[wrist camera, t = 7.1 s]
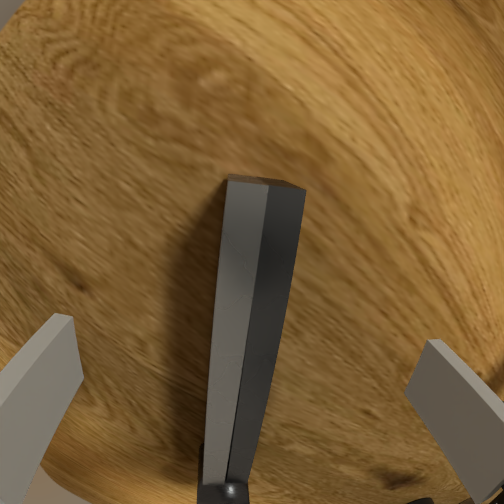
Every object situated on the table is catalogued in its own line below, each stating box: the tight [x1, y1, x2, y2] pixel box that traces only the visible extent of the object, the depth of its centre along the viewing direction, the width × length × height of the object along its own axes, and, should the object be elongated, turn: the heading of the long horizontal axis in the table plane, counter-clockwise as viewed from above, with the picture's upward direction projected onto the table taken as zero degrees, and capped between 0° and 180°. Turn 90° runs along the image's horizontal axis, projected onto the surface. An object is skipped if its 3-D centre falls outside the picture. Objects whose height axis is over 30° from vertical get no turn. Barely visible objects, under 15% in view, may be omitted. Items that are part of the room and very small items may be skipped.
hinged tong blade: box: [203, 174, 269, 486], centre depth 16 cm, size 20×2×5 cm, turn 172°
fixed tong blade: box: [197, 177, 306, 504], centre depth 17 cm, size 24×4×6 cm, turn 173°
